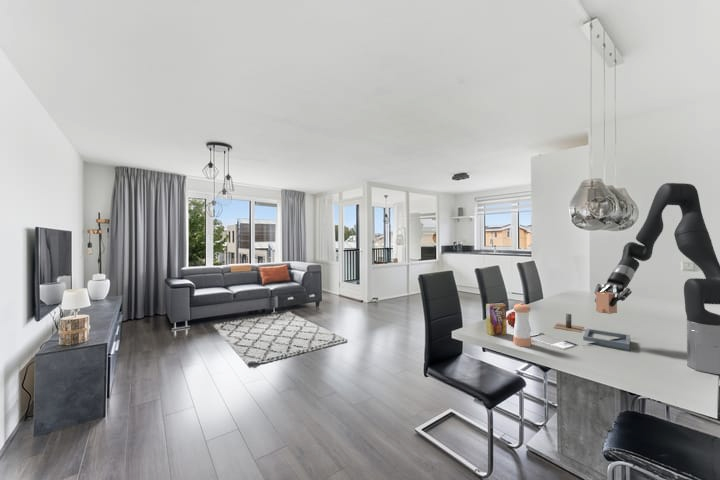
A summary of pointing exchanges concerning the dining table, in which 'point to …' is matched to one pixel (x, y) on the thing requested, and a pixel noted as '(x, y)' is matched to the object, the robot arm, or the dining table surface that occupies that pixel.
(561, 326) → the post stand
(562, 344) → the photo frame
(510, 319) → the dragon fruit
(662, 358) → the dining table surface
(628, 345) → the tray
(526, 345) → the pepper shaker
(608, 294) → the orange-brown box
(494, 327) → the candy box
